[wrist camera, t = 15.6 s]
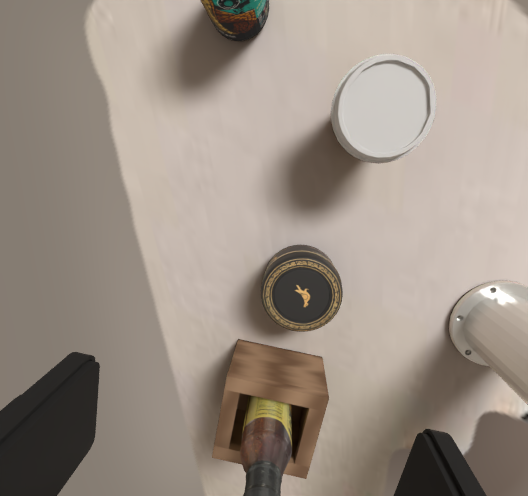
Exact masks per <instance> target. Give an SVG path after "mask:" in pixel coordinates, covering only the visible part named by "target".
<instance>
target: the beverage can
mask: <svg viewBox="0 0 528 496" xmlns="http://www.w3.org/2000/svg"><path fill="white" fill-rule="evenodd" d="M201 2H202V4H203V6H204V8H205V10H206V11H207V13H208V15H209V17H210V19H211V20H212V22H213V24H214V26H215V27H216V29H217V30H218V31H219V32H220V33H221V34H222V35H223V36H225V37H226V38H228V39H231V40H234V41H243V40H247V39H250V38H252V37H253V36H255V35H256V34H257V33H258V32H259V31H260V30H261V29H262V28H263V26H264V24H265V22H266V20H267V17H268V12H269V0H201Z"/></svg>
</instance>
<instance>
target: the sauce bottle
mask: <svg viewBox="0 0 528 496" xmlns="http://www.w3.org/2000/svg"><path fill="white" fill-rule="evenodd" d="M291 454H292V431H291V404H288V403H283V402H279V401H274V400H270V399H265V398H261V397H256V396H251V395H249V397H248V403H247V409H246V415H245V420H244V426H243V432H242V443H241V449H240V457H241V461H242V465H243V468H244V471H245V472H246V487H245V493H244V495H243V496H280V493H281V491H280V488H281V482H282V476H283V473H284V471H285V469H286V467H287V464H288V462H289V460H290V458H291Z"/></svg>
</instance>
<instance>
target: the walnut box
mask: <svg viewBox="0 0 528 496" xmlns="http://www.w3.org/2000/svg"><path fill="white" fill-rule="evenodd" d="M249 395H251V396H256V397H261V398H265V399H270V400H274V401H279V402H283V403H288V404H291V431H292V454H291V458H290V460H289V462H288V464H287V467H286V469H285V471H284V473H283V474H287V475H292V476H296V477H300V478H305V479H306V478H307V474H308V471H309V467H310V463H311V460H312V456H313V453H314V449H315V446H316V442H317V439H318V435H319V432H320V428H321V425H322V421H323V418H324V414H325V411H326V407H327V404H328V400H329V395H328V389H327V383H326V377H325V371H324V365H323V358H322V357H319V356H315V355H310V354H305V353H301V352H296V351H291V350H287V349H282V348H277V347H272V346H268V345H263V344H258V343H254V342H249V341H244V340H240V339H238V341H237V345H236V348H235V351H234V354H233V358H232V361H231V364H230V367H229V371H228V374H227V378H226V383H225V389H224V394H223V400H222V405H221V410H220V416H219V421H218V427H217V432H216V438H215V443H214V449H213V454H212V458H216V459H221V460H225V461H230V462H234V463H238V464H242V461H241V457H240V449H241V443H242V432H243V426H244V420H245V415H246V409H247V403H248V397H249Z"/></svg>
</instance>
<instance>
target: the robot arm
mask: <svg viewBox="0 0 528 496" xmlns="http://www.w3.org/2000/svg"><path fill="white" fill-rule="evenodd" d="M449 333H450V337H451V340H452V342H453V344H454V346H455V347H456V348H457V349H458V351H459V352H460V353H461V354H462V355H463V356H464V357H466V358H467V359H469V360H470V361H472V362H474V363H477V364H479V365H484V366H490V367H491V368H492V369H493V370H494V371H495V372H496V373H497V374H498V375H499V376H500V377H501V378H502V379H503V380H504V381H505V382H506V383H507V384H508V385H509V386H510V387H511V388H512V389H513V390H514V391H515V392H516V393H517V394H518V395H519V396H520V397H521V398H522V400H523V401H524V402H525V403H526V404H527V405H528V287H527V286H525V285H522V284H520V283H517V282H512V281H494V282H489V283H486V284H483V285H480V286H478V287H476V288H474V289H472V290H471V291H469V292H468V293H467V294H465V295H464V296H463V297H462V298H461V299H460V300H459V302H458V303H457V304H456V306H455V307H454V309H453V312H452V314H451V316H450V321H449ZM99 368H100V366H99V363H98V362H95V357H94V356H92V355H87V354H82V353H78V352H72V353H71V354H69V355H68V356H67V357H66V358H64V359H63V360H62V361H61V362H60V363H59V364H57V365H56V366H55V367H54V368H53V369H51V370H50V371H49V372H48V373H47V374H46V375H44V376H43V377H42V378H41V379H40V380H38V381H37V382H36V383H35V384H34V385H33V386H31V387H30V388H29V389H28V390H27V391H26V392H24V393H23V394H22V395H20V396H18V397H17V398H15V399H14V400H13V401H11V402H10V403H9V404H8V405H7V406H6V407H5V408H3V409H2V410H1V411H0V496H57V495H58V493H59V492H60V491H61V489H62V488H63V486H64V485H65V484H66V482H67V481H68V479H69V478H70V477H71V475H72V474H73V472H74V471H75V470H76V468H77V467H78V465H79V464H80V462H81V461H82V460H83V458H84V457H85V456H86V454H87V453H88V451H89V450H90V448H91V446H92V444H93V442H94V438H95V430H96V429H95V428H96V414H97V399H98V384H99ZM394 496H486V494H485V492H484V491H483V489H482V488H481V486H480V484H479V483H478V481H477V479H476V477H475V476H474V474H473V472H472V471H471V469H470V467H469V465H468V464H467V462H466V460H465V459H464V457H463V455H462V454H461V452H460V450H459V449H458V447H457V445H456V443H455V442H454V440H453V438H452V437H451V436H450V435H449V434H448V433H444V432H440V431H435V430H431V429H425V430H424V431H423V433H419V434H417V436H416V439H415V441H414V444H413V447H412V449H411V452H410V454H409V457H408V460H407V462H406V465H405V468H404V470H403V473H402V475H401V478H400V481H399V483H398V486H397V489H396V491H395V494H394Z"/></svg>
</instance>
